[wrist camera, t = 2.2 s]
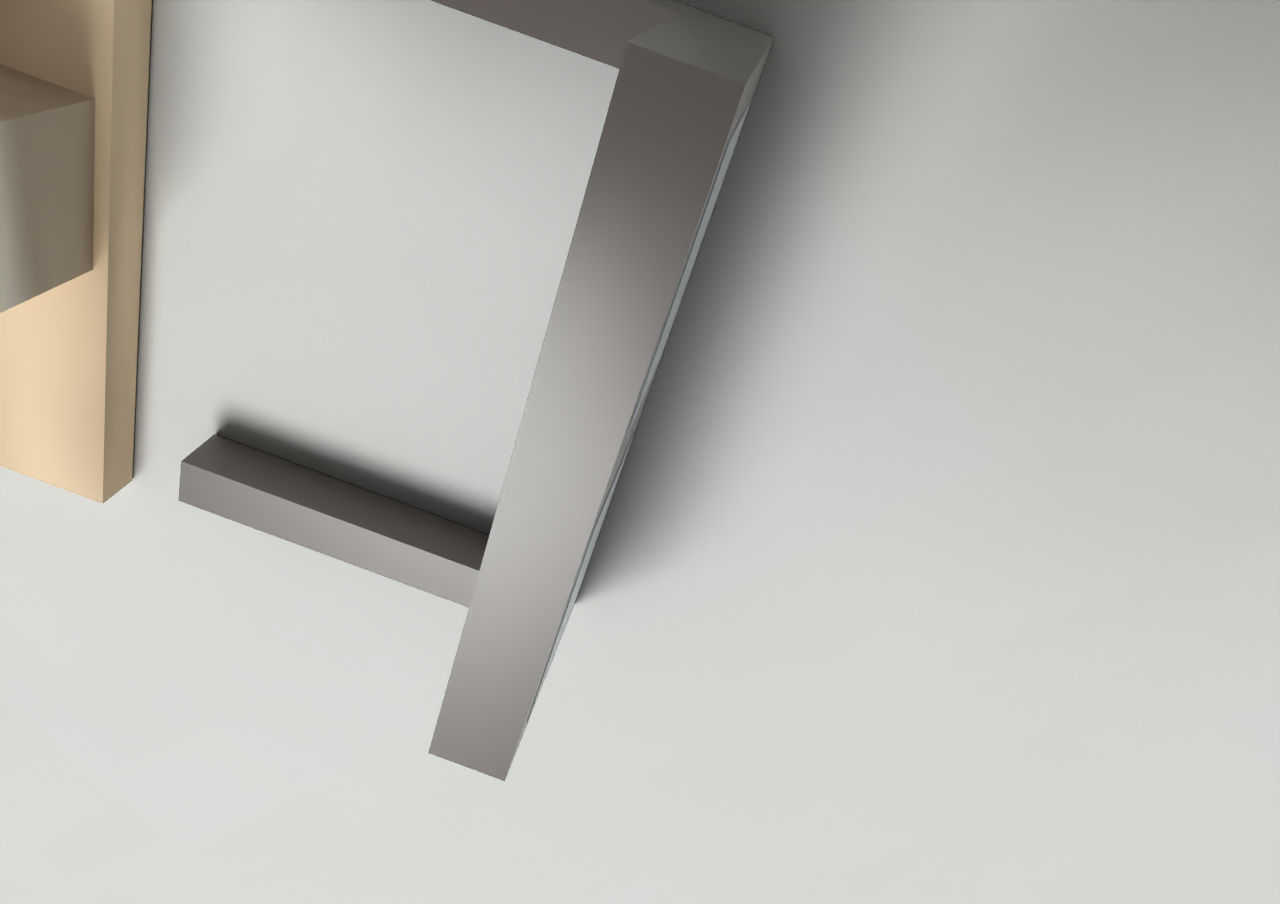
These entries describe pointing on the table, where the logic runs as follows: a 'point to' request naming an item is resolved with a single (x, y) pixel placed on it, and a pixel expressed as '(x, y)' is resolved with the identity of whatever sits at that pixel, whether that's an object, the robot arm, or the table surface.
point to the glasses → (545, 370)
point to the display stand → (71, 237)
